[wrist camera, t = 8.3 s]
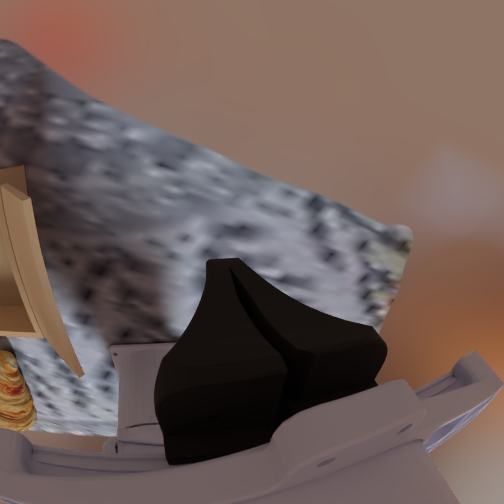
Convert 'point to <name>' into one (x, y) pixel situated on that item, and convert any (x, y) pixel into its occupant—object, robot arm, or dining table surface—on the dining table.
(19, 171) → the carton
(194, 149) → the dining table surface
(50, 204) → the dining table surface
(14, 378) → the croissant
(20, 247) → the flap
